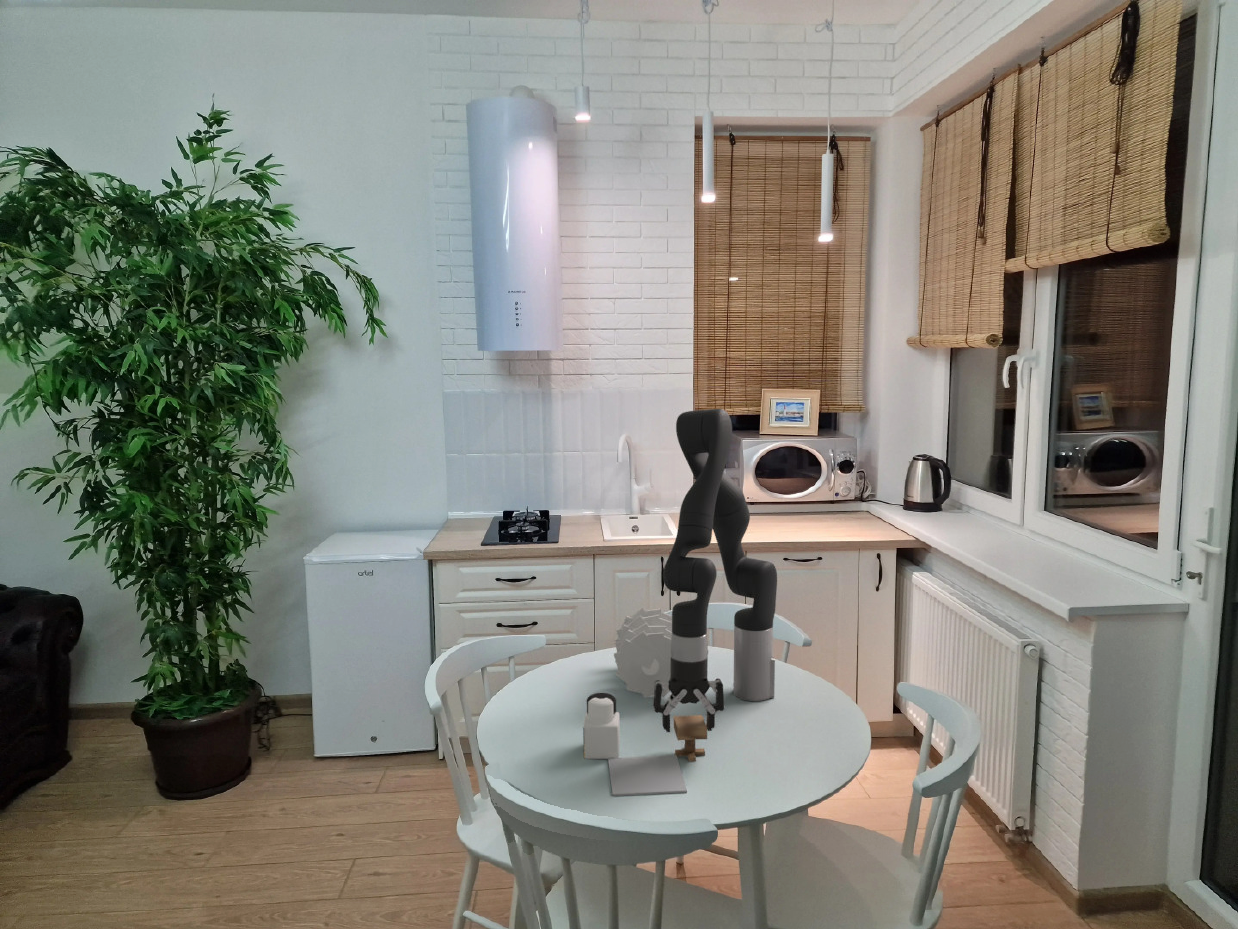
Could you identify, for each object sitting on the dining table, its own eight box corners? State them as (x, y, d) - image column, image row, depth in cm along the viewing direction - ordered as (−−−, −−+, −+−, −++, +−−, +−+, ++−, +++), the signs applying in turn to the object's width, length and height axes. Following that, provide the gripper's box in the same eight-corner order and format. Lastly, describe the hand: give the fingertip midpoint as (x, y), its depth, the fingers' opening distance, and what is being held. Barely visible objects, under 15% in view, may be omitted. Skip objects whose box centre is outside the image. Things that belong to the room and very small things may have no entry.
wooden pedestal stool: (701, 747, 175) (702, 715, 174) (707, 760, 169) (707, 727, 168) (673, 748, 175) (673, 716, 174) (677, 762, 169) (677, 729, 168)
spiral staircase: (664, 680, 222) (669, 716, 197) (604, 652, 221) (601, 685, 196) (694, 619, 220) (703, 647, 195) (633, 591, 220) (634, 616, 195)
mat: (676, 757, 171) (676, 755, 171) (687, 792, 157) (687, 790, 157) (608, 760, 170) (607, 758, 170) (612, 796, 156) (612, 794, 156)
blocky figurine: (586, 743, 177) (585, 689, 176) (619, 743, 177) (619, 689, 176) (583, 759, 170) (582, 703, 169) (618, 759, 170) (618, 703, 168)
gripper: (720, 646, 174) (719, 721, 175) (652, 648, 173) (651, 723, 174) (727, 659, 166) (726, 737, 168) (656, 661, 165) (655, 739, 167)
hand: (688, 730), depth 171 cm, fingers open, 8 cm apart
